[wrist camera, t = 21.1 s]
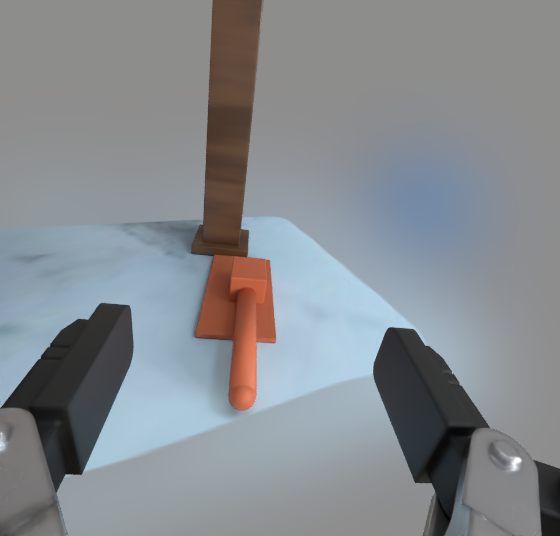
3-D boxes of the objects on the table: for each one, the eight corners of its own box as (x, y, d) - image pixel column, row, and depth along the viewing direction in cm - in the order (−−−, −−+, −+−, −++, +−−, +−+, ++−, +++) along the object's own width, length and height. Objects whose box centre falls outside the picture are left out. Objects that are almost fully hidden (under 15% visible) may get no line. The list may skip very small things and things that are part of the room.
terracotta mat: (275, 343, 26) (276, 339, 26) (195, 337, 25) (195, 333, 25) (269, 263, 37) (269, 260, 37) (214, 257, 36) (214, 254, 36)
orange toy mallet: (266, 417, 19) (272, 388, 18) (213, 415, 19) (216, 385, 18) (262, 280, 33) (265, 258, 32) (231, 277, 32) (233, 255, 31)
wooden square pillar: (246, 260, 37) (295, -164, 22) (190, 254, 36) (202, -188, 21) (248, 236, 43) (287, -114, 28) (199, 231, 42) (213, -132, 27)
